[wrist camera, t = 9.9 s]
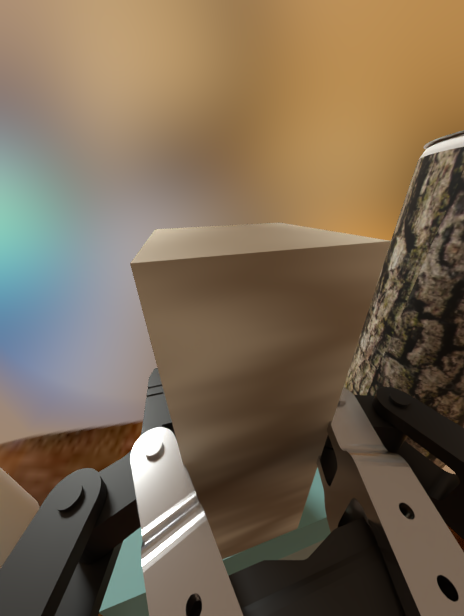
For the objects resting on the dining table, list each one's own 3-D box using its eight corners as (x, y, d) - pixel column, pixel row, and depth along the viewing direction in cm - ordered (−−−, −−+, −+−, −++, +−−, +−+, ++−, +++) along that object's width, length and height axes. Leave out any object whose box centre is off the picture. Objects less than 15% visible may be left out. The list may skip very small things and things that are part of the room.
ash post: (209, 564, 9) (129, 263, 3) (198, 458, 13) (155, 229, 7) (297, 528, 10) (391, 241, 4) (263, 439, 14) (279, 222, 8)
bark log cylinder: (422, 505, 17) (828, 101, 5) (357, 539, 15) (735, 63, 4) (357, 428, 23) (482, 154, 11) (305, 447, 21) (386, 148, 9)
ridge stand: (118, 742, 10) (69, 765, 7) (144, 489, 18) (126, 453, 15) (372, 602, 13) (409, 578, 10) (292, 443, 22) (300, 406, 19)
